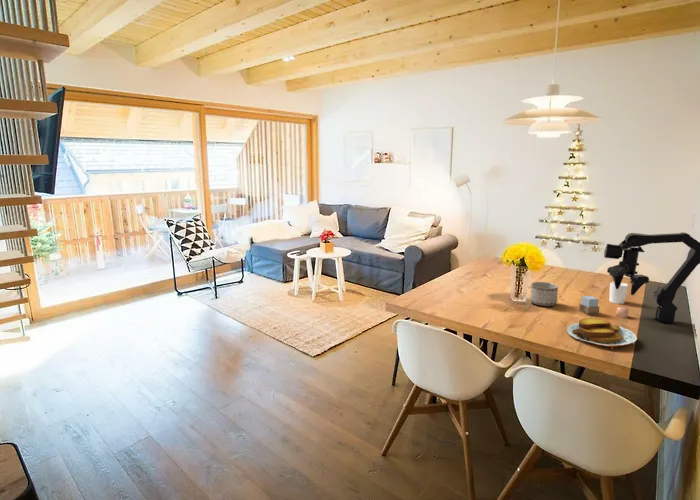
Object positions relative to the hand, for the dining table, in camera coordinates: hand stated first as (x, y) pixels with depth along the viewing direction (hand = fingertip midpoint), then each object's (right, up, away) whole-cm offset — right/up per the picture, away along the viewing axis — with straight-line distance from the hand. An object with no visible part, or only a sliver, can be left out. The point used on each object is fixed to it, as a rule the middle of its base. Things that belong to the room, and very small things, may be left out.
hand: (624, 291), depth 188 cm
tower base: (-13, -11, +7) cm, 19 cm away
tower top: (-13, -7, +7) cm, 16 cm away
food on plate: (-25, -18, -21) cm, 37 cm away
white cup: (+12, -8, +22) cm, 26 cm away
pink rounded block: (0, -12, +2) cm, 12 cm away
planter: (-29, -9, +21) cm, 37 cm away
